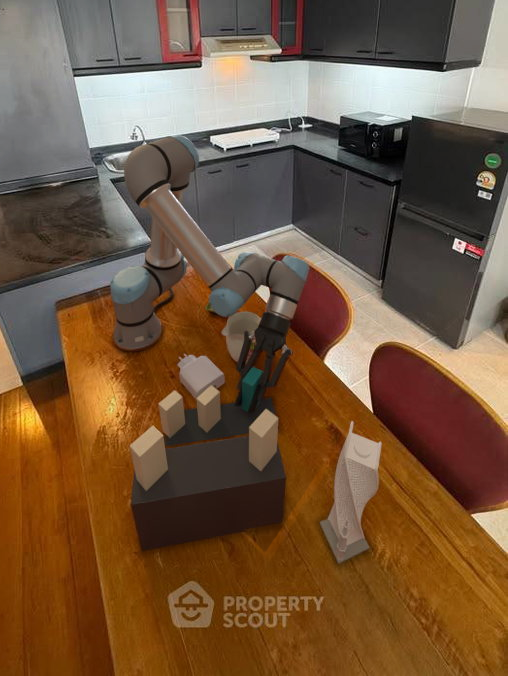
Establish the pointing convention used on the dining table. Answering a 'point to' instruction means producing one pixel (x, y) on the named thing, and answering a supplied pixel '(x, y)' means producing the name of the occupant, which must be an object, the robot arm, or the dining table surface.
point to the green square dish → (209, 308)
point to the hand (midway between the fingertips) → (244, 408)
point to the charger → (199, 374)
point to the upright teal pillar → (250, 387)
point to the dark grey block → (206, 418)
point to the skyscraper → (352, 495)
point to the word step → (207, 486)
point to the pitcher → (240, 332)
